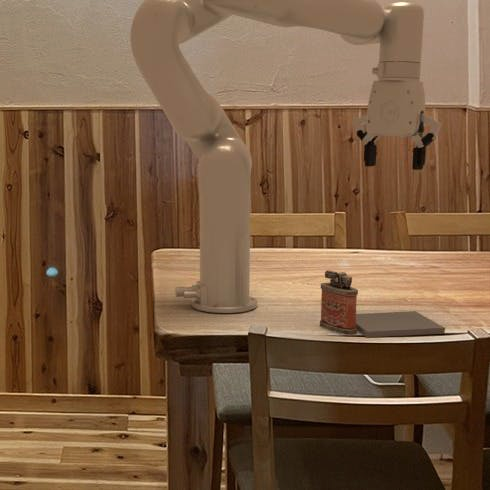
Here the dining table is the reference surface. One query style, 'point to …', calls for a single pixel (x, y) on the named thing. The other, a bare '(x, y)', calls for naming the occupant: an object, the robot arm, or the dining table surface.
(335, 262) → the dining table surface
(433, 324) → the mat
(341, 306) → the lighter
